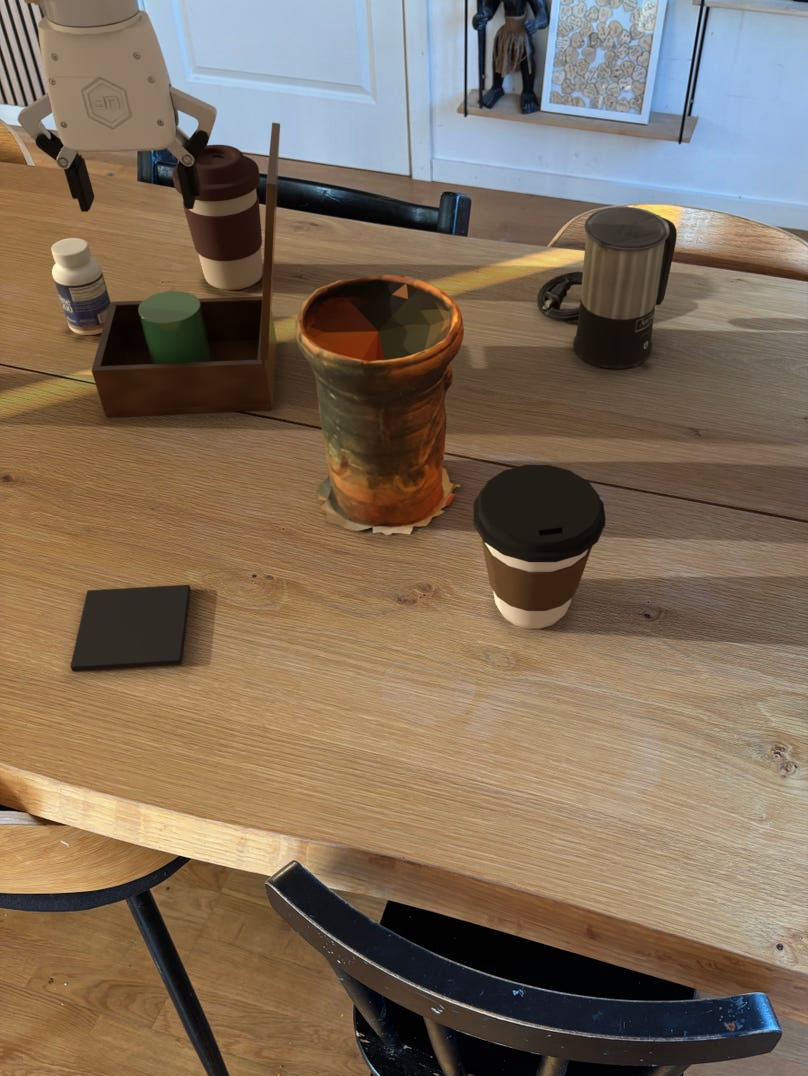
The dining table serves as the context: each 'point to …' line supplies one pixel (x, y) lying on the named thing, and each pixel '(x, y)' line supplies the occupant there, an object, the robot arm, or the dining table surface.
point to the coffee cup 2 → (537, 539)
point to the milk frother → (616, 286)
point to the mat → (132, 628)
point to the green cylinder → (174, 328)
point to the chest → (186, 364)
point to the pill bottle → (80, 286)
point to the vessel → (382, 397)
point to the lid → (269, 239)
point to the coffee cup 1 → (226, 217)
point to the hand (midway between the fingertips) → (139, 204)
